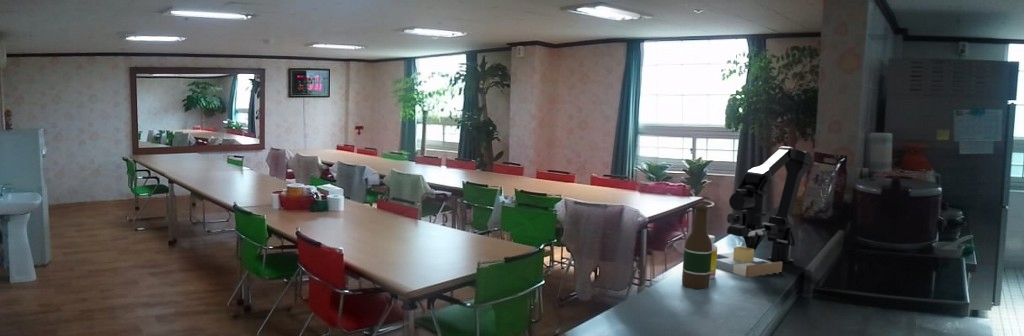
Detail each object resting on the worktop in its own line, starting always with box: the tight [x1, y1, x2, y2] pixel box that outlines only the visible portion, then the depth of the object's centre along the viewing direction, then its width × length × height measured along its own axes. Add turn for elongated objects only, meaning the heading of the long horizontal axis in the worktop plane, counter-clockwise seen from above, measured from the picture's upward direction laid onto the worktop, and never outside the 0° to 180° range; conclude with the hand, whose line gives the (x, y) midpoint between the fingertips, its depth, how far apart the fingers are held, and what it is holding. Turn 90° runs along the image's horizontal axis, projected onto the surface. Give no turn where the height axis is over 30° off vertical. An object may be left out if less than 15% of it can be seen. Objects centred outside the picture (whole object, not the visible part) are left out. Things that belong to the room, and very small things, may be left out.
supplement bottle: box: [708, 234, 718, 280], centre depth 205 cm, size 7×7×13 cm
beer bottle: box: [681, 204, 712, 290], centre depth 192 cm, size 8×8×24 cm
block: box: [733, 245, 755, 262], centre depth 219 cm, size 4×4×4 cm
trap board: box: [716, 251, 784, 278], centre depth 219 cm, size 16×19×4 cm
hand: (750, 254), depth 221 cm, fingers closed
